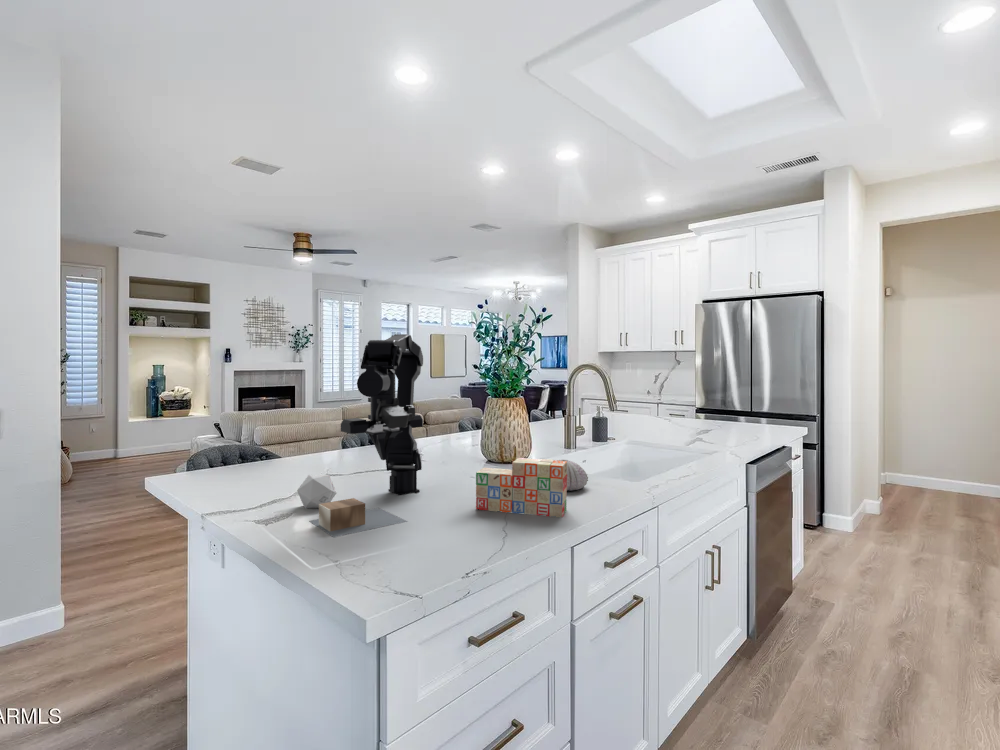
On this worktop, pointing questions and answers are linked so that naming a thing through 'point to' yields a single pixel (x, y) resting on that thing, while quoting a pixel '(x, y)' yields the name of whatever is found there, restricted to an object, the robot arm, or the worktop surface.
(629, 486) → the worktop surface
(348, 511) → the wooden block
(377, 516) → the rubber mat
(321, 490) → the die
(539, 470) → the stack of blocks
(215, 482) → the worktop surface
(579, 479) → the sea urchin shell
